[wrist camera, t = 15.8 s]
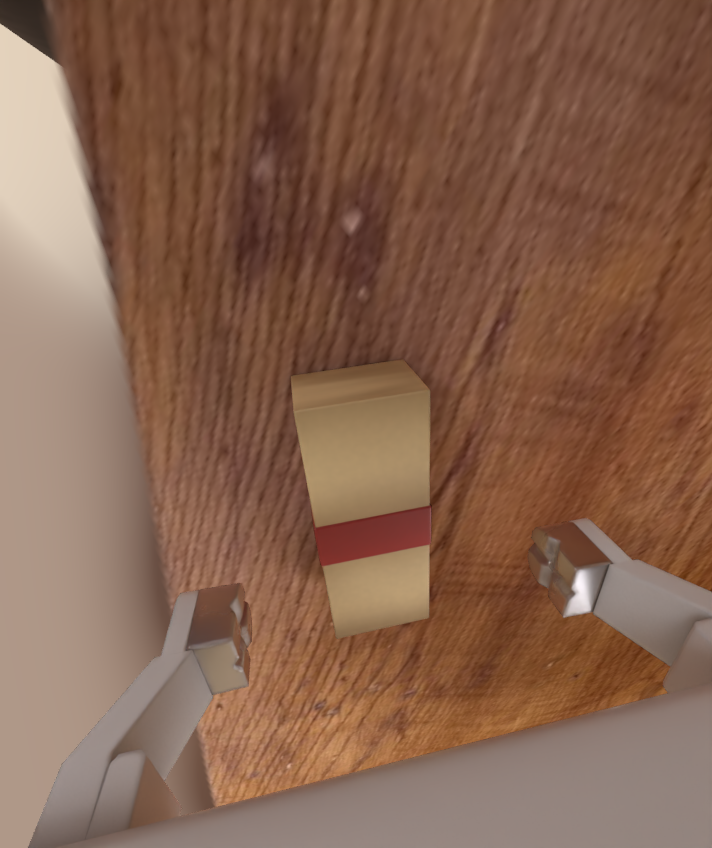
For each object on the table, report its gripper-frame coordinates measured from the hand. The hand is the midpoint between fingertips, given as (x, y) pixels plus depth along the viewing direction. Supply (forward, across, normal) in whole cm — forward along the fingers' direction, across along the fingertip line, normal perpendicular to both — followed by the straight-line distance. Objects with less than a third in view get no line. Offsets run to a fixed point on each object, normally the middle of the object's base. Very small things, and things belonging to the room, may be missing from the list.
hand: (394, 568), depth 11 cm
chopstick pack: (+4, 0, 0) cm, 4 cm away
